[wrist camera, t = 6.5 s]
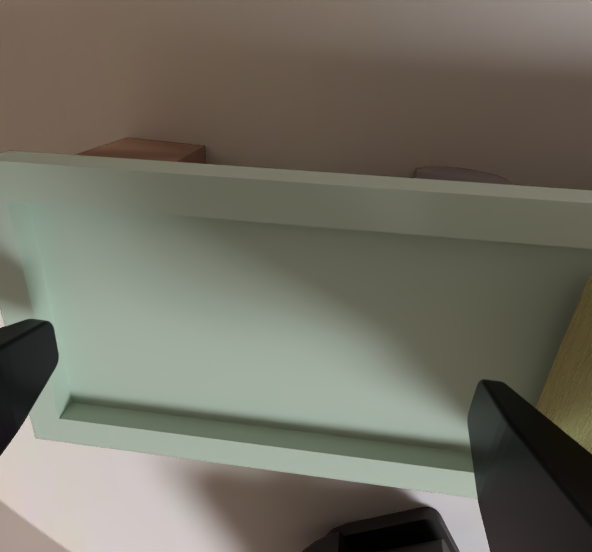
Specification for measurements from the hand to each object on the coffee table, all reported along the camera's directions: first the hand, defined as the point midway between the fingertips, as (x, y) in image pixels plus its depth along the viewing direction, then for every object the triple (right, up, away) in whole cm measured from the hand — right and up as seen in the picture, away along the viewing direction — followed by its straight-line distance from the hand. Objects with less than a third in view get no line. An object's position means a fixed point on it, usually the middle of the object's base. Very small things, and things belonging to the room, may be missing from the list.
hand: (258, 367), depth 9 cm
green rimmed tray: (+4, 0, +2) cm, 5 cm away
